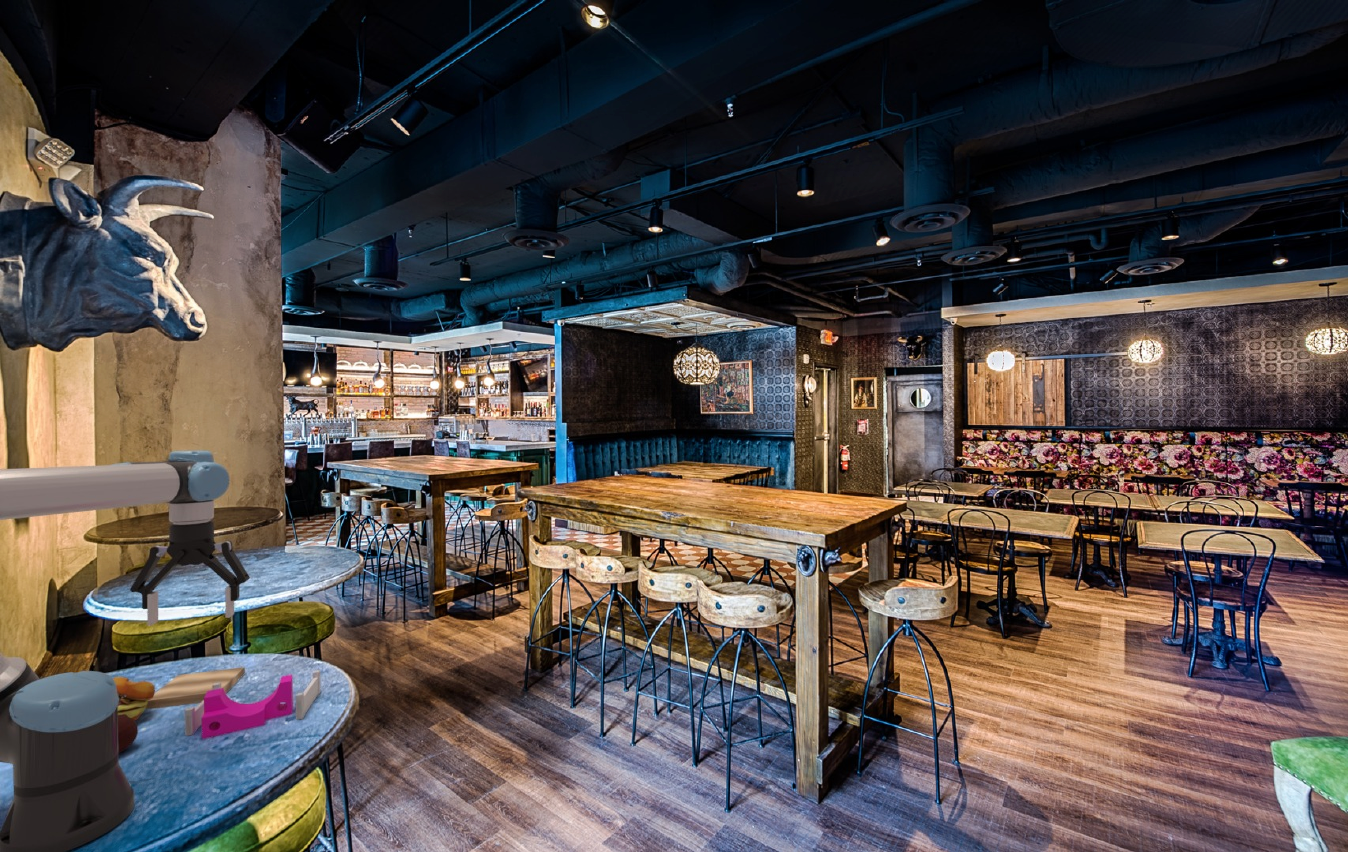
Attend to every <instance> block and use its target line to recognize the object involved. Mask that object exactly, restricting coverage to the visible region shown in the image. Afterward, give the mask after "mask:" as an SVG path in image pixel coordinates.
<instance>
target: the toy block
mask: <svg viewBox="0 0 1348 852" xmlns="http://www.w3.org/2000/svg"><path fill="white" fill-rule="evenodd" d="M279 681H280V682H279V683H278V686H277V688H275V690H274V691H273V692H272V693H271V694H270V695H268V696H267V697H266V698H264V699H261V700H260V701H256V702H253V703H239V702H236V701H234V700H232V699H231V698H230V697H229V696H228V695H227V693H226V694H225V692H224V688H220V689H215V690H210V691H207V693H206V695H205V697H204V714H203V716H202V718H201V722H202V725H201V740H203V739H204V740H205V739H209V738H213V737H218V736H223V735H228V734H230V733H234V732H235V733H236V732H239V731H240V732H241V731H244V730H249V729H252V728H257V727H261V726H265V723H266V721H267V720H270V719H275V718H280V717H284V716H288V715H289V716H290V715H292V714H293V708H294V695H293V694H294V692H293V691H294V690H293V686H294V685H293V674H288V675H282V676H281V677H280V680H279Z"/></svg>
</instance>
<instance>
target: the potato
mask: <svg viewBox="0 0 1348 852" xmlns="http://www.w3.org/2000/svg"><path fill="white" fill-rule="evenodd" d="M138 729H139V728H138V723H137V722H136V720H135V721H134V719H132V718H130V717H128V716H125V715H118V754H120V753H122V752H124V751H126V750H127V749H128V748H130V746H132V745H133V743H134V742H135V740H136V739H137V737H138V735H139V734H138V733H139V732H138V731H139V730H138Z"/></svg>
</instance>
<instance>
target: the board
mask: <svg viewBox="0 0 1348 852" xmlns="http://www.w3.org/2000/svg"><path fill="white" fill-rule="evenodd" d="M244 673H245V674H246V667H245V666H243V667H234V668H226V669H219V670H218V669H217V670H216V669H215V670H208V671H200V672H191V673H185V674H178V675H176V676H175V677H174V678H172V680H170V681H169V682H168V683H165V685H163V686H162V687H161V688H160V689H159V690H157V691H155V693H154V696H153V698H152V699H150V700H148V703H147V706H146V708H145V710H151V709H160V708H168V707H176V706H183V705H185V706H186V705H194V704H200V703H201V702H202V701H203V700H204V697H205V695H206V693H207V691H210V690H212V685H213V684H215V683H220V682H221V688H224V692H225V694H226V695H227V693H228V692H229V691H230V690H231V689H232V688H233V687H234V686H235V685H236V684H237V683H238V682H239V680H240V679H241V678H242V677H243V676H244V675H245V674H244ZM243 674H244V675H243ZM242 675H243V676H242ZM241 676H242V677H241ZM239 678H240V679H239ZM238 679H239V680H238ZM237 681H238V682H237ZM236 682H237V683H236ZM235 683H236V684H235ZM232 686H233V687H232ZM229 689H230V690H229Z"/></svg>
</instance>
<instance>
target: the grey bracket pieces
mask: <svg viewBox="0 0 1348 852" xmlns="http://www.w3.org/2000/svg"><path fill="white" fill-rule="evenodd" d="M220 688H221V682H220V683H215V684H213V685H212V690H215V689H220ZM321 688H322V687H321V670H320V669H318V670H314V671H313V672H312V680H311V681H310V682H309V684H308V685H307V687H306V688H305V689H304V691H303V692H298V693H296V695H295V719H296V720H297V721H298V720H303V719H304V717H305V714H306V713H307V711H308V710H309V708H310V707H311V706H312V705H313V703H314V701H315V699H316V698H317V697H318V696H319V695H320V694H321V692H322V691H321V690H322V689H321ZM203 714H204V700H203V701H202V702H201V703H198V705H196V706H193V707H191V706H190V707H187V708H186V709H184V731H185V732H184V734H185V735H184V736H185V737H186V736H188V737H189V736H193V735H194V734H195V733H196V731H197V730H198V729H199V728H200V727H202V722H201V718H202V716H203Z"/></svg>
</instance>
